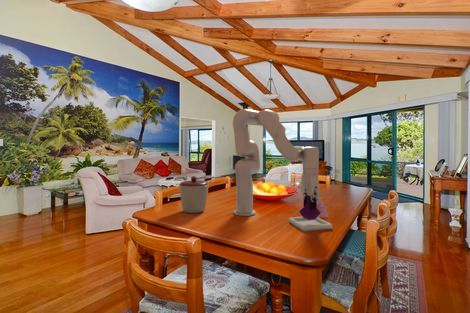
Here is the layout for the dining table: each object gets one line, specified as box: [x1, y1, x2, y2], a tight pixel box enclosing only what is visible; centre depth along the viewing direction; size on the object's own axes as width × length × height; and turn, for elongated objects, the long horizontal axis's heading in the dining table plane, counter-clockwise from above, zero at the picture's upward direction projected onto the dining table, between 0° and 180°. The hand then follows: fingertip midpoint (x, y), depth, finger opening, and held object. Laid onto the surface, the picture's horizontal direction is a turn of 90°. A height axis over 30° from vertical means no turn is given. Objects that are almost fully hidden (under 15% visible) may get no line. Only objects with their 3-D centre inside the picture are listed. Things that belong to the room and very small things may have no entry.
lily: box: [317, 196, 330, 218], centre depth 144 cm, size 12×12×10 cm
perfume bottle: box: [298, 189, 320, 220], centre depth 127 cm, size 8×8×18 cm
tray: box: [288, 216, 333, 233], centre depth 128 cm, size 15×15×2 cm
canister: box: [178, 175, 210, 214], centre depth 153 cm, size 18×18×21 cm
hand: (309, 207), depth 127 cm, fingers closed on perfume bottle, 5 cm apart
